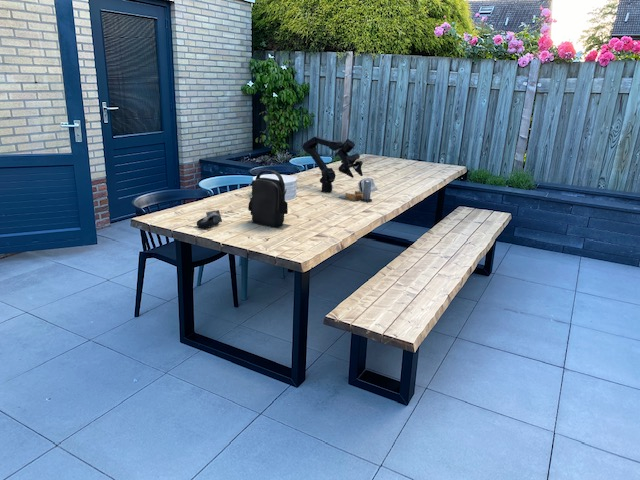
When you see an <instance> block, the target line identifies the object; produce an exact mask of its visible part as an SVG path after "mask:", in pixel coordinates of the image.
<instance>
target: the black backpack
mask: <svg viewBox="0 0 640 480" xmlns="http://www.w3.org/2000/svg"><path fill="white" fill-rule="evenodd" d="M267 172H270V173H271V174H275V175H276V176H277V177H278V179H279V180H275V179H270V178H260V176H261V175H264V173H267ZM281 175H282V174H280V173H279V172H278V171H276V170H275V169H274V170H272V169H264V170H262V171H260V172H259V173H258V174H257V175H256V176H257V177H256V180H255V181H254V180H253V179H252V181H251V197H250V198H249V200H250V201H249V202H248V207H247V208H248V211H249V212H250V215H251V220H248V221H246V222H247V223H251V224H255V225H258V226H259V225H260V226H263V227H264V226H265V227H268V228H269V227H270V228H272V229H273V228H274V229H277V230H278V229H279V230H285V229H287V228H290V227H292V224H286V223H284V222H285V215H287V214H288V213H289V212H288V209H289V207H288V202H287V200H286V201H285V194H286V191H287V189H286V191H285V184H284V181H283V178H282V176H281Z"/></svg>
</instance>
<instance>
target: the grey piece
mask: <svg viewBox="0 0 640 480" xmlns="http://www.w3.org/2000/svg"><path fill="white" fill-rule="evenodd" d="M371 193H372V192H371V181H370V180H364V190H363V198H362V199H361V200H360V201H361V203H371V202H373V198H371Z"/></svg>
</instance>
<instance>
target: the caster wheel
mask: <svg viewBox="0 0 640 480" xmlns="http://www.w3.org/2000/svg"><path fill="white" fill-rule="evenodd" d="M205 214H206V216H203V217H202V218H200V219H198V220H197V221H196V225H197V228H198V229H199V230H204V229H208V228H216V227H217V226H219V224H220V223H222V222H223V220H222V217H221V213H220V210H219V209H216V210H212V211H211V210H210V211H206V212H205Z"/></svg>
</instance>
